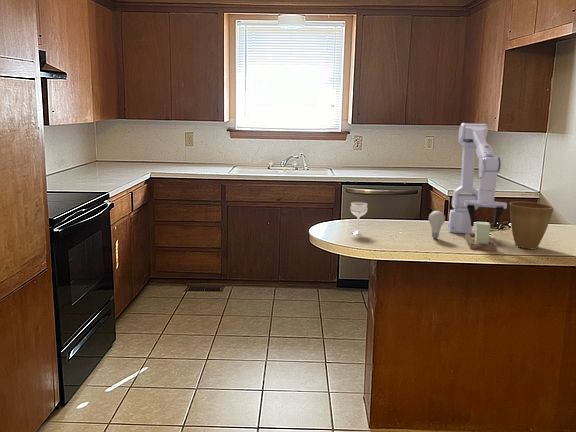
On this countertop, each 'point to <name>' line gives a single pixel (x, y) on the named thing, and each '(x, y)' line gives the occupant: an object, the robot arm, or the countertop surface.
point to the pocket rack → (472, 245)
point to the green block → (482, 232)
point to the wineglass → (358, 212)
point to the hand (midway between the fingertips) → (482, 226)
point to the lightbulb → (436, 222)
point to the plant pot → (529, 222)
